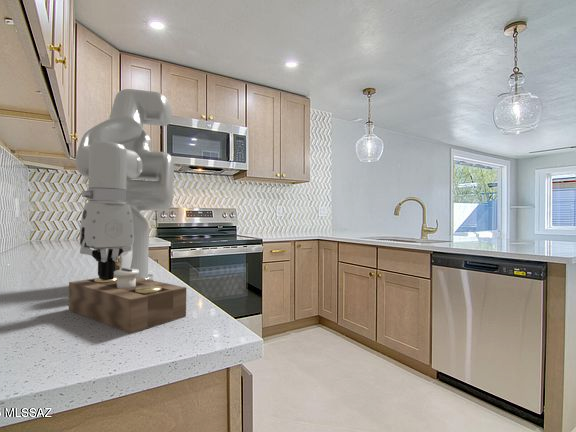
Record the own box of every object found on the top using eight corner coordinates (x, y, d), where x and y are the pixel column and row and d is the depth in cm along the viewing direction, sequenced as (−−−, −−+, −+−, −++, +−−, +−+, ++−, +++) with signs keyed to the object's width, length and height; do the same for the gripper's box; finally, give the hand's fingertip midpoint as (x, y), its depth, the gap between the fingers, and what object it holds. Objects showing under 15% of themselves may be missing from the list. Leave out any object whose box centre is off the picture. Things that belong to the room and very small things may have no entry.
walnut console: (68, 309, 70) (69, 282, 70) (122, 298, 80) (122, 274, 80) (130, 333, 57) (131, 299, 57) (186, 316, 67) (186, 287, 67)
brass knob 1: (89, 305, 72) (90, 278, 72) (111, 300, 76) (111, 275, 76) (100, 309, 70) (101, 281, 70) (122, 304, 74) (122, 278, 74)
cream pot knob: (108, 299, 68) (109, 269, 68) (130, 294, 72) (131, 266, 72) (121, 303, 65) (121, 271, 65) (143, 298, 69) (143, 268, 69)
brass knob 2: (129, 318, 64) (130, 288, 64) (151, 313, 68) (152, 284, 68) (144, 323, 61) (144, 292, 61) (166, 317, 65) (166, 287, 65)
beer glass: (100, 297, 81) (101, 237, 81) (103, 291, 87) (104, 235, 87) (131, 295, 84) (132, 237, 83) (132, 289, 90) (133, 235, 90)
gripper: (79, 195, 65) (78, 286, 64) (147, 199, 77) (146, 276, 77) (62, 196, 69) (61, 282, 69) (130, 199, 81) (128, 272, 81)
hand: (106, 278), depth 73 cm, fingers closed
